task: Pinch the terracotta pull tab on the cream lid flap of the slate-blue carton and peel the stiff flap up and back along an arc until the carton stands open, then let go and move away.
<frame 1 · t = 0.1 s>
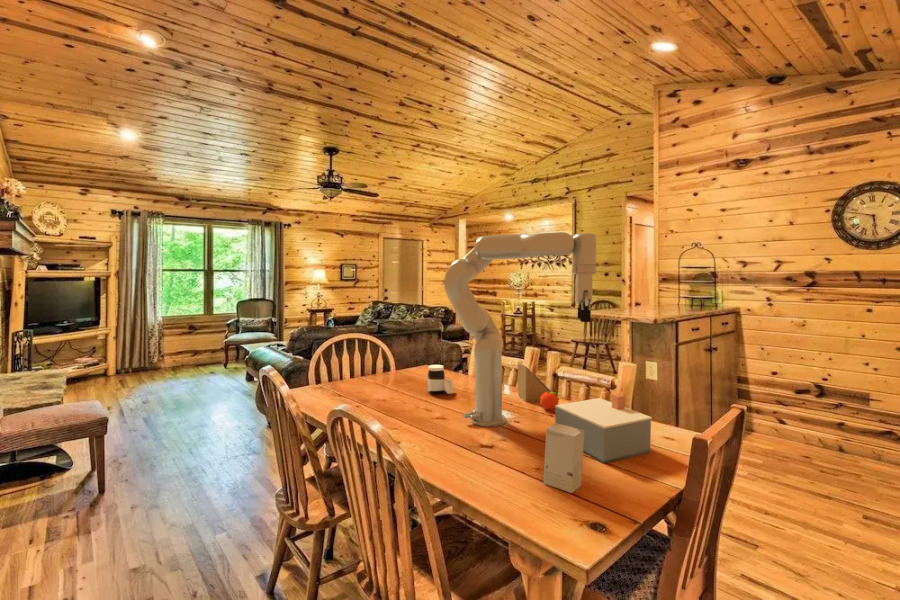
hand: (583, 320, 155), 37 cm above the table, tool pointing down, fingers open, 9 cm apart
tomato: (550, 410, 177), on the table
lid flap: (601, 405, 141), point 12 cm above the table, hinge at 0.0°
sandwich container: (538, 398, 192), on the table
carton: (600, 444, 142), on the table
spread jar: (440, 392, 202), on the table
skincare box: (563, 485, 116), on the table
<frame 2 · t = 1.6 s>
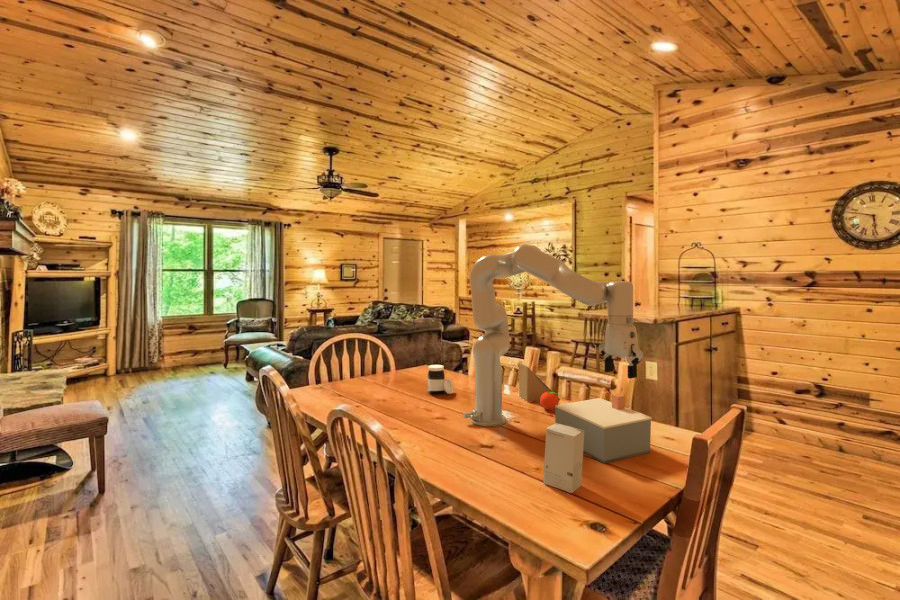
hand: (620, 374, 143), 21 cm above the table, tool pointing down, fingers open, 9 cm apart
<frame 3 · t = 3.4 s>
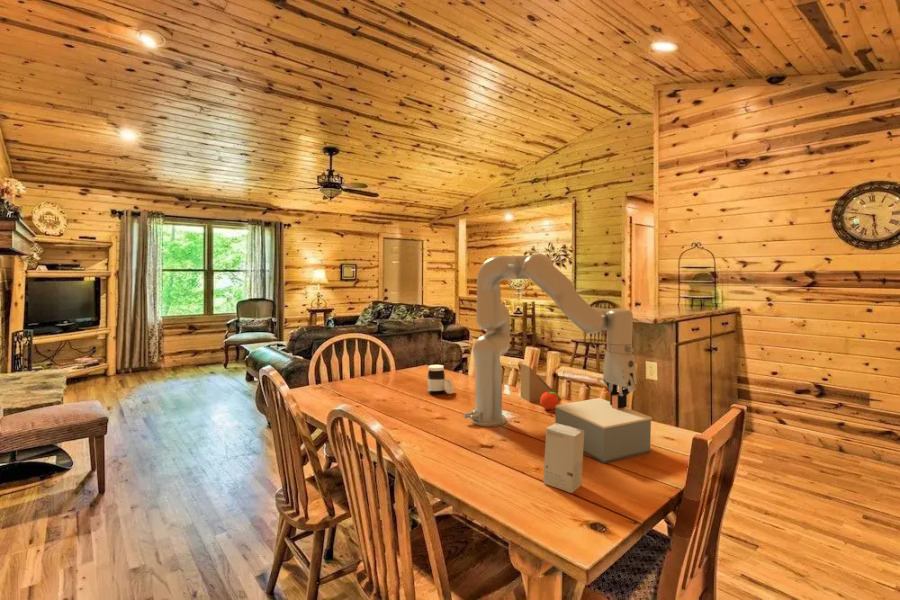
hand: (618, 405, 144), 11 cm above the table, tool pointing down, fingers closed on lid flap, 2 cm apart
lid flap: (601, 405, 141), point 12 cm above the table, hinge at 0.0°, touching gripper
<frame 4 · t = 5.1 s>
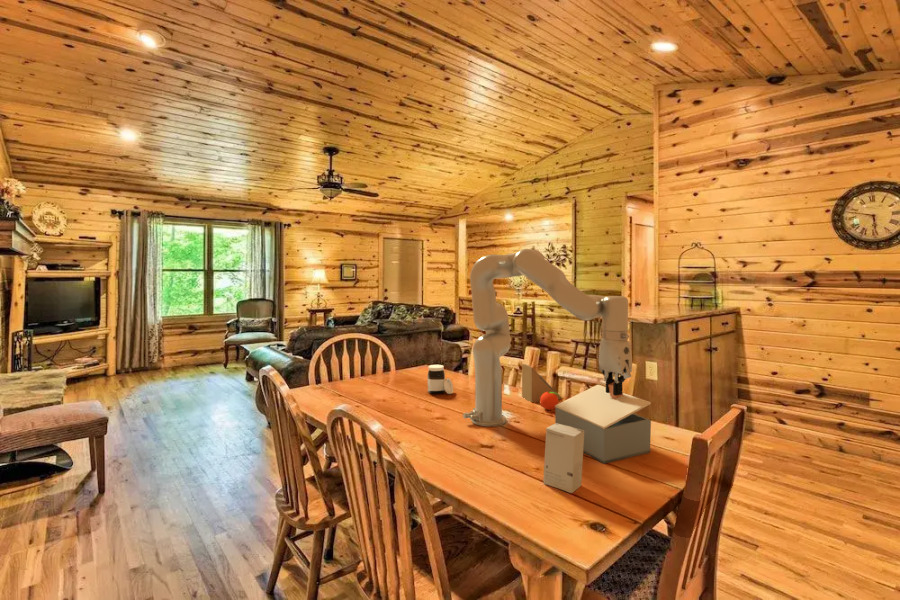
hand: (613, 393, 143), 16 cm above the table, tool pointing down, fingers closed on lid flap, 2 cm apart
lid flap: (599, 398, 140), point 15 cm above the table, hinge at 15.1°, touching gripper
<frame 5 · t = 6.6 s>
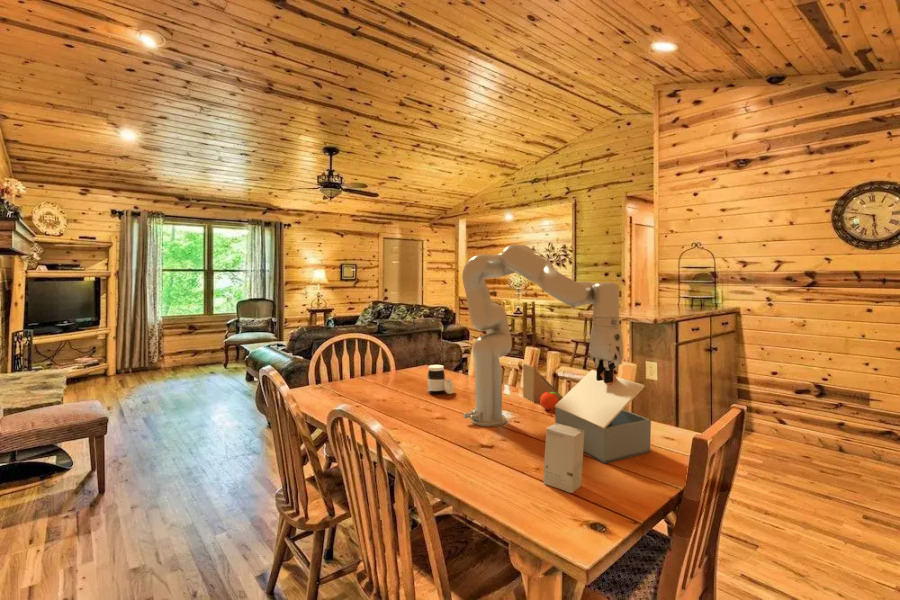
hand: (604, 380, 141), 20 cm above the table, tool pointing down, fingers closed on lid flap, 2 cm apart
lid flap: (594, 391, 139), point 17 cm above the table, hinge at 34.1°, touching gripper
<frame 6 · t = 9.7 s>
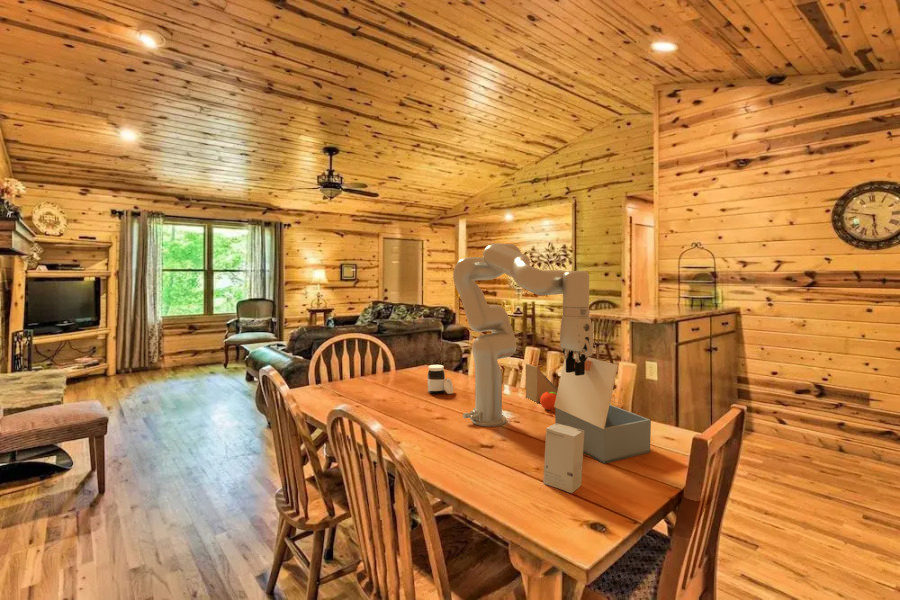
hand: (575, 372, 136), 24 cm above the table, tool pointing down, fingers open, 3 cm apart
lid flap: (578, 386, 137), point 20 cm above the table, hinge at 75.2°
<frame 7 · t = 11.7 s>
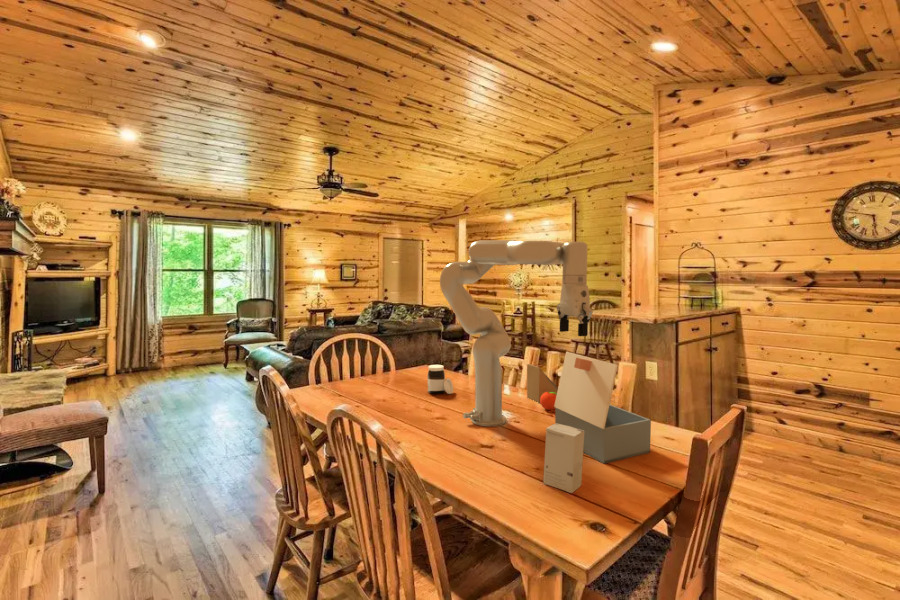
hand: (573, 333, 146), 34 cm above the table, tool pointing down, fingers open, 9 cm apart
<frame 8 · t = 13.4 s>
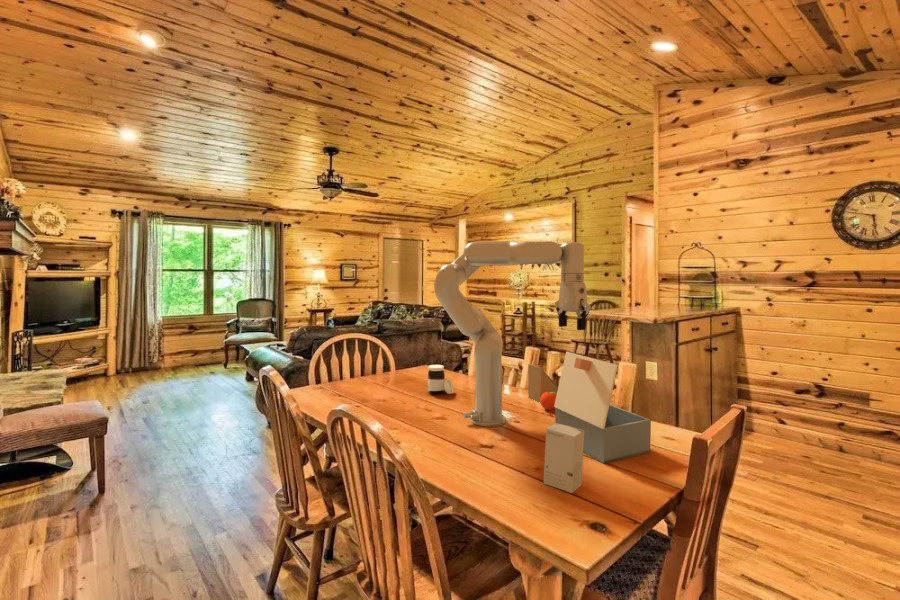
hand: (571, 328, 157), 34 cm above the table, tool pointing down, fingers open, 9 cm apart
at the end: lid flap at +75° (first picture: +0°); the gripper is holding nothing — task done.
